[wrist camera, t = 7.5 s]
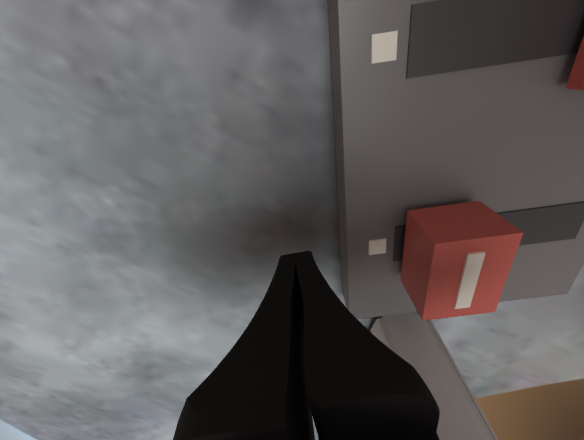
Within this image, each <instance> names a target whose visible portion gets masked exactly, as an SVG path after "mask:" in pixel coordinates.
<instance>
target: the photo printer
mask: <svg viewBox="0 0 584 440" xmlns="http://www.w3.org/2000/svg"><path fill="white" fill-rule="evenodd" d="M370 332H371V333H372V334H373V335H374V336H375V337H377V338H378V339H379V340H380V341H381V342H382V343H384V344H385V345H386V346H387V347H388V348H390V349H391V350H392V351H394V352H395V353H396V354H397V355H399V356H400V357H401V358H403V359H404V360H405V361H407V362H408V363H409V364H411V365H412V366H413V367H414V368H415V369H416V371H417V372H418V373H419V375H420V376H421V378H422V379H423V381H424V382H425V384H426V385H427V387H428V388H429V390H430V392H431V393H432V395H433V397H434V399H435V400H436V402H437V405H438V407H439V410H440V417H439V422H438V427H437V435H438V437H439V439H440V440H498V439H497V437H496V435H495V433H494V431H493V430H492V428H491V426H490V424H489V422H488V421H487V419H486V417H485V415H484V414H483V411H482V410H481V408H480V406H479V405H478V403H477V401H476V399H475V397H474V396H473V394H472V392H471V390H470V388H469V387H468V385H467V383H466V381H465V380H464V378H463V376H462V374H461V373H460V371H459V369H458V367H457V366H456V364H455V362H454V360H453V358H452V357H451V355H450V353H449V351H448V349H447V348H446V346H445V344H444V343H443V341H442V339H441V337H440V336H439V334H438V332H437V330H436V329H435V327H434V325H433V324H432V323H431V321H430V320H422V319H421V317H420V316H419V314H418V313H417V312H411V313H403V314H395V315H386V316H382V317H381V318H378V319H377V320H376V321H375V323H374V324H373V326H372V328H371V330H370Z"/></svg>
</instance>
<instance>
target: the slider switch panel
mask: <svg viewBox="0 0 584 440" xmlns="http://www.w3.org/2000/svg"><path fill="white" fill-rule="evenodd" d="M327 1H328V20H329V39H330V58H331V77H332V96H333V115H334V134H335V153H336V172H337V191H338V210H339V229H340V247H341V266H342V285H343V296H344V300H345V303H346V307H347V309H348V310H349V311H350V312H351V313H352V314H353V315H354V316H355V317H356V319H361V318H370V317H378V316H386V315H395V314H403V313H411V312H417V310H416V308H415V306H414V304H413V303H412V301H411V299H410V297H409V295H408V293H407V291H406V290H405V288H404V286H403V284H402V282H401V271H402V261H403V250H404V240H405V229H406V219H407V210H414V209H422V208H429V207H437V206H444V205H452V204H459V203H466V202H474V201H481V202H482V203H484V204H485V205H486V206H488V207H489V208H490V209H492V210H493V211H495V212H496V213H497V214H499V215H500V216H501V217H503V218H504V219H506V220H507V221H508V222H510V223H511V224H512V225H514V226H515V227H517V228H518V229H519V230H521V231H522V232H524V233H523V236H522V238H521V241H520V244H519V247H518V249H517V252H516V255H515V258H514V260H513V263H512V266H511V269H510V271H509V274H508V277H507V280H506V282H505V285H504V288H503V291H502V293H501V296H500V299H499V302H502V301H511V300H519V299H527V298H535V297H544V296H552V295H560V294H567V293H568V291H569V289H570V288H571V286H572V284H573V282H574V280H575V278H576V276H577V275H578V273H579V271H580V269H581V267H582V265H583V263H584V90H575V89H566V85H567V82H568V79H569V77H570V74H571V71H572V68H573V65H574V62H575V59H576V56H577V53H578V51H579V48H580V45H581V42H582V39H583V36H584V0H327Z"/></svg>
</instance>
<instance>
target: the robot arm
mask: <svg viewBox="0 0 584 440" xmlns="http://www.w3.org/2000/svg"><path fill="white" fill-rule="evenodd" d="M312 416H313V419H314V423H315V426H316V430H317V433H318V438H319V440H440V439H439V437H438V435H437V427H438V422H439V417H440V410H439V407H438V405H437V402H436V400H435V399H434V397H433V395H432V393H431V392H430V390H429V388H428V387H427V385H426V384H425V382H424V381H423V379H422V378H421V376H420V375H419V373H418V372H417V371H416V369H415V368H414V367H413V366H412V365H411V364H409V363H408V362H407V361H405V360H404V359H403V358H401V357H400V356H399V355H397V354H396V353H395V352H394V351H392V350H391V349H390V348H388V347H387V346H386V345H385V344H384V343H382V342H381V341H380V340H379V339H378V338H377V337H375V336H374V335H373V334H372V333H371V332H370V331H369V330H368V329H367V328H366V327H365V326H364V325H363V324H361V323H360V322H359V321H358V320H357V319H356V317H355V316H354V315H353V314H352V313H351V312H350V311H349V310H348V309H347V308H346V307H345V306H344V304H343V303H342V302H341V301H340V299H339V298H338V297H337V296H336V294H335V293H334V292H333V290H332V289H331V288H330V286H329V285H328V283H327V282H326V280H325V279H324V277H323V276H322V274H321V272H320V271H319V269H318V267H317V265H316V263H315V261H314V258H313V255H312V252H310V251H305V252H299V253H293V254H287V255H282V256H281V257H280V258H279V262H278V265H277V268H276V271H275V274H274V276H273V279H272V281H271V284H270V286H269V288H268V290H267V293H266V295H265V297H264V299H263V301H262V302H261V304H260V306H259V308H258V310H257V312H256V314H255V315H254V317H253V319H252V320H251V322H250V323H249V325H248V327H247V328H246V330H245V331H244V332H243V334H242V335H241V337H240V338H239V340H238V341H237V342H236V344H235V345H234V346H233V348H232V349H231V350H230V352H229V353H228V354H227V355H226V356H225V358H224V359H223V360H222V361H221V362H220V364H219V365H218V366H217V367H216V368H215V370H214V371H213V372H212V373H211V374H210V375H209V376H208V377H207V378H206V379H205V380H204V381H203V382H202V383H201V384H200V386H199V387H198V388H197V389H196V390H195V391H194V392H193V393H192V394H191V395H190V396H189V397H188V398H187V399H186V402H185V405H184V407H183V410H182V412H181V415H180V418H179V421H178V424H177V427H176V431H175V435H174V438H173V440H315V437H314V428H313V419H312Z"/></svg>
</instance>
